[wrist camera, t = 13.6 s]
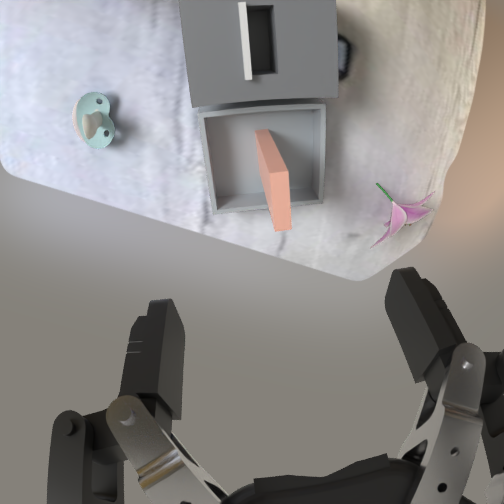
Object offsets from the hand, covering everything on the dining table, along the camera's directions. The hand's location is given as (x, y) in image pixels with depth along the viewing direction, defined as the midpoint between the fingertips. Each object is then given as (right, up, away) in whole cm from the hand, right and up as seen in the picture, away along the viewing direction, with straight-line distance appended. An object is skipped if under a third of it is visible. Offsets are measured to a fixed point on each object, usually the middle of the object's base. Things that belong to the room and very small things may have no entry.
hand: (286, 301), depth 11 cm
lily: (+20, +10, +33) cm, 40 cm away
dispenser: (-1, +25, +18) cm, 31 cm away
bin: (0, +15, +27) cm, 30 cm away
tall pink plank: (0, +14, +26) cm, 30 cm away
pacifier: (-21, +19, +22) cm, 35 cm away
